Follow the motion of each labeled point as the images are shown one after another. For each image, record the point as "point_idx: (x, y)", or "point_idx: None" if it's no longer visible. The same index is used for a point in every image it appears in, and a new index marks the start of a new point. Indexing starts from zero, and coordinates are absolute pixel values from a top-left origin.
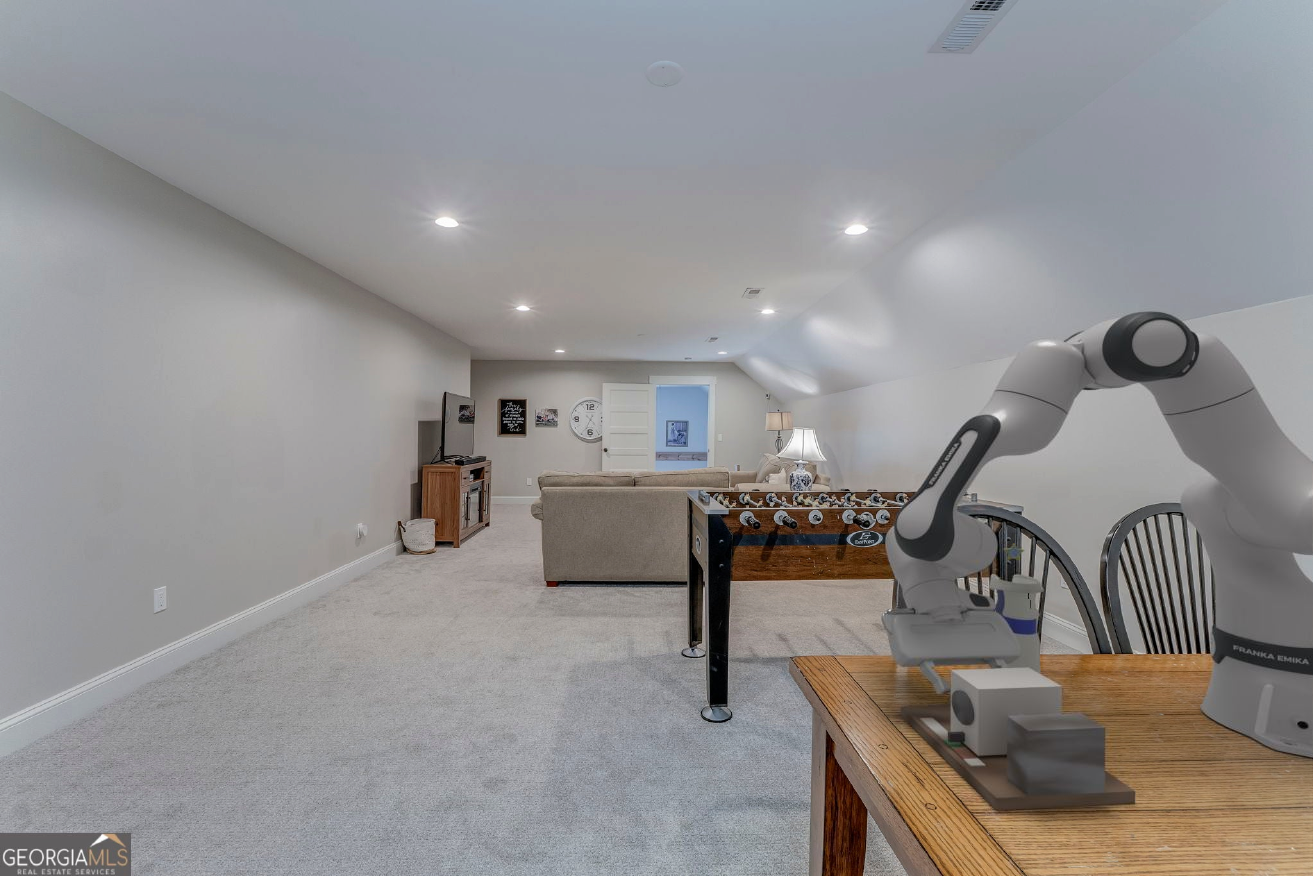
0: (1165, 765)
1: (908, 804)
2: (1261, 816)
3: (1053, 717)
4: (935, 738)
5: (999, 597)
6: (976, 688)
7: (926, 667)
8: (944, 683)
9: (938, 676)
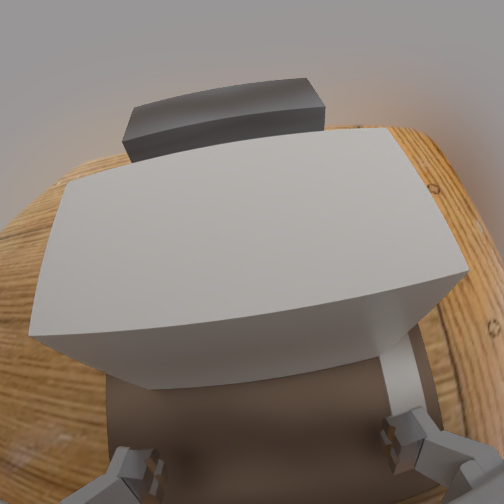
0: (14, 309)
1: (457, 190)
2: (30, 221)
3: (209, 112)
4: (417, 331)
5: None
6: (390, 135)
7: (492, 449)
8: (411, 427)
9: (439, 439)
